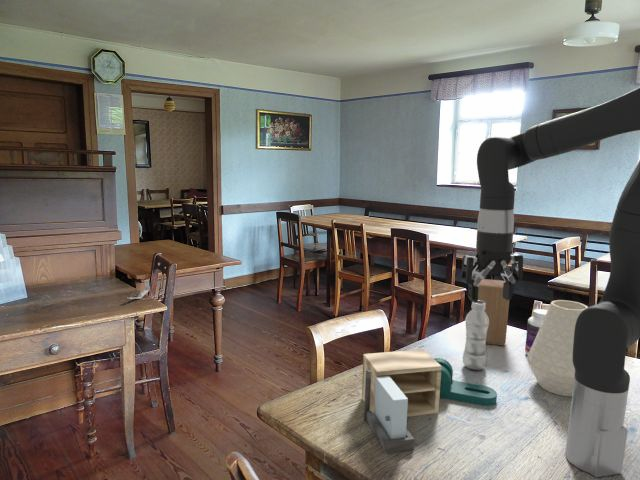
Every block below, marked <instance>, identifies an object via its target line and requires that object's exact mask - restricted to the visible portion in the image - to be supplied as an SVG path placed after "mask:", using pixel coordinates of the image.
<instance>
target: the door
mask: <svg viewBox="0 0 640 480" xmlns="http://www.w3.org/2000/svg"><path fill="white" fill-rule="evenodd" d="M407 406H408V398H407V397H406V396H405V395H404V393H403V392H402V391H401V390H400V389H399V387H398V386H397V385H396V384H395V383H394V381H393V380H392V379H391V378H390V377H389V376H384V377H376V386H375V408H374V416H375V418H376V419H377V421H378V422H379V424H380V426H381V427H382V429H383V430H384V432H385V433H386V435H387V437H388V438H389V440H390V439H398V438H406V428H407V422H408V421H407V420H408V417H407Z"/></svg>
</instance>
